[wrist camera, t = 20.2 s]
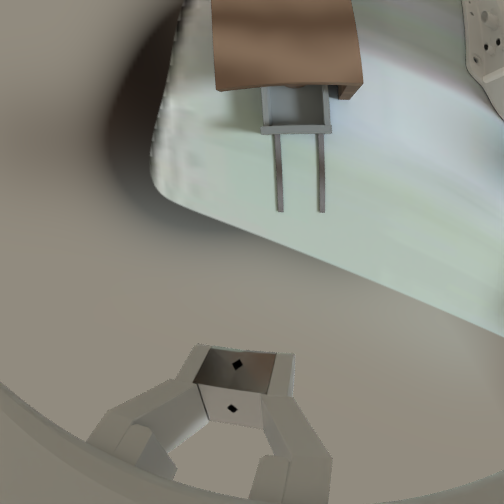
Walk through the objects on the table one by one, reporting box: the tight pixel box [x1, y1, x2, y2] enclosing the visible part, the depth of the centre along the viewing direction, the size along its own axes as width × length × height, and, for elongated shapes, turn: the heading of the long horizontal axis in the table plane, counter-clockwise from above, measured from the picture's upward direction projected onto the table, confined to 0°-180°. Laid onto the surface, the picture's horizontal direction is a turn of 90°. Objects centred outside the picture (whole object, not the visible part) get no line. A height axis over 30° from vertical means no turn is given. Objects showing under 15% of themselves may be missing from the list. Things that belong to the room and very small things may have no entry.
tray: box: [261, 85, 332, 135], centre depth 25 cm, size 12×7×4 cm, turn 4°
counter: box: [211, 0, 363, 213], centre depth 24 cm, size 26×12×10 cm, turn 4°
